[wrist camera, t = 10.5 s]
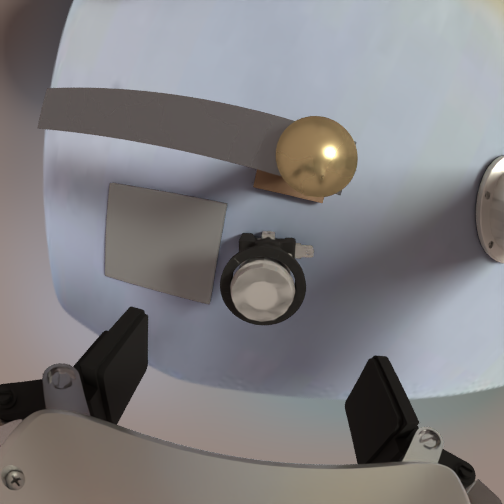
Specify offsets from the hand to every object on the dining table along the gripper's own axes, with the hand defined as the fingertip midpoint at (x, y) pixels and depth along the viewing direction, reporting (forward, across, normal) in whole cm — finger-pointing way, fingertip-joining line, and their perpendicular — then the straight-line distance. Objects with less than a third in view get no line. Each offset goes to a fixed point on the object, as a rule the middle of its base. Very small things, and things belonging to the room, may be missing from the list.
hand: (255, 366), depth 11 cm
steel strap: (+5, +6, -9) cm, 12 cm away
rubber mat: (+16, +10, +2) cm, 19 cm away
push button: (+16, -1, 0) cm, 16 cm away
